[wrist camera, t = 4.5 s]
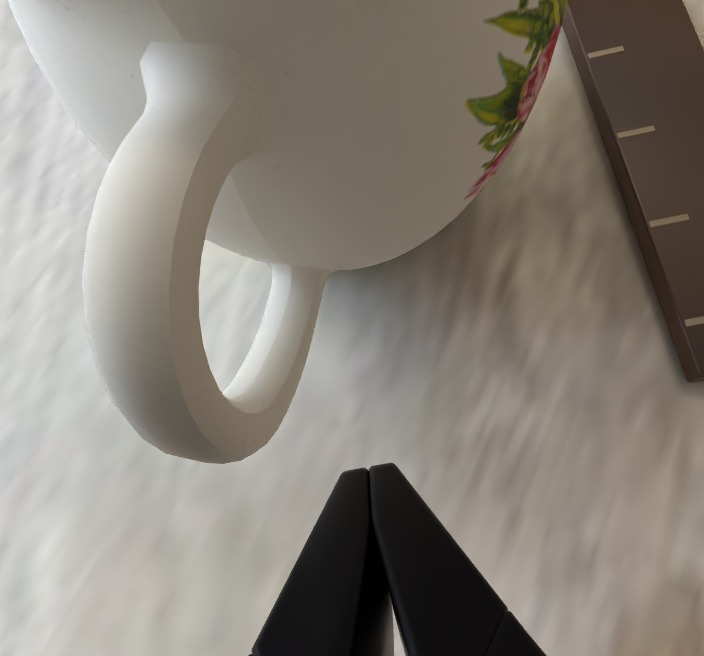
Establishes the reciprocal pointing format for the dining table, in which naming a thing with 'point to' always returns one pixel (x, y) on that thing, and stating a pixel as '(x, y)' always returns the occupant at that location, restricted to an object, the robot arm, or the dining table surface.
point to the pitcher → (269, 169)
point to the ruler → (653, 142)
